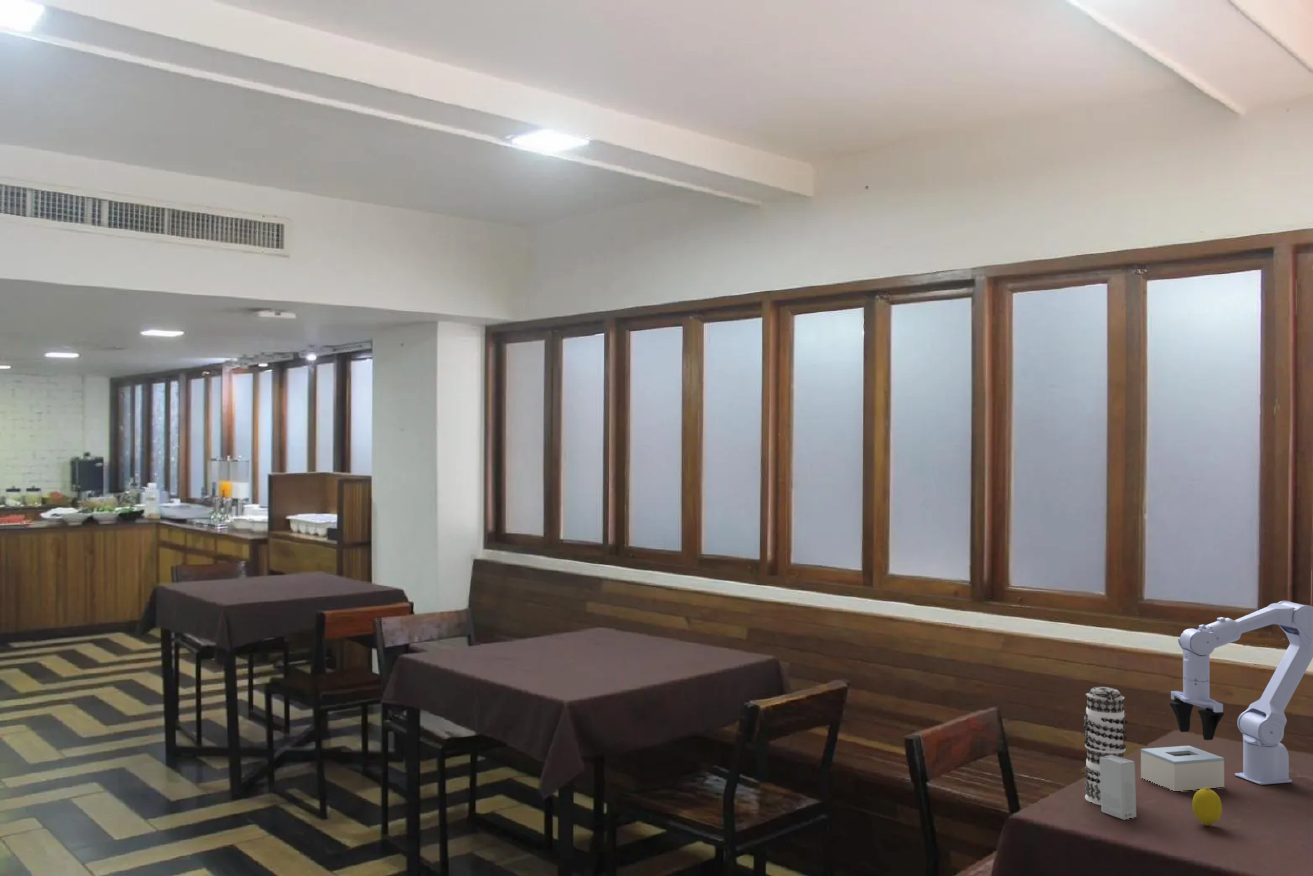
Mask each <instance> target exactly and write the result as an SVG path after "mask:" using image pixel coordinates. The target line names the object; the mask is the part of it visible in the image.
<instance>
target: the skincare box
mask: <svg viewBox="0 0 1313 876" xmlns="http://www.w3.org/2000/svg"><path fill="white" fill-rule="evenodd" d="M1100 784H1101V805H1100V807H1101V808H1100V809H1101V812H1102V813H1104V814H1107V815H1109V816H1112V817H1115V818H1117V819H1121V820H1123V821H1125V820H1126V819H1127V820H1130V819H1129V818H1132V819H1135V818H1134V817H1136V818H1137V797H1136V796H1137V795H1136V790H1137V789H1136V764H1135V761H1134V760H1130V759H1127V758H1124V757H1123V758H1121V757H1118V756H1114V755H1108V756H1103V757H1100Z"/></svg>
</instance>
